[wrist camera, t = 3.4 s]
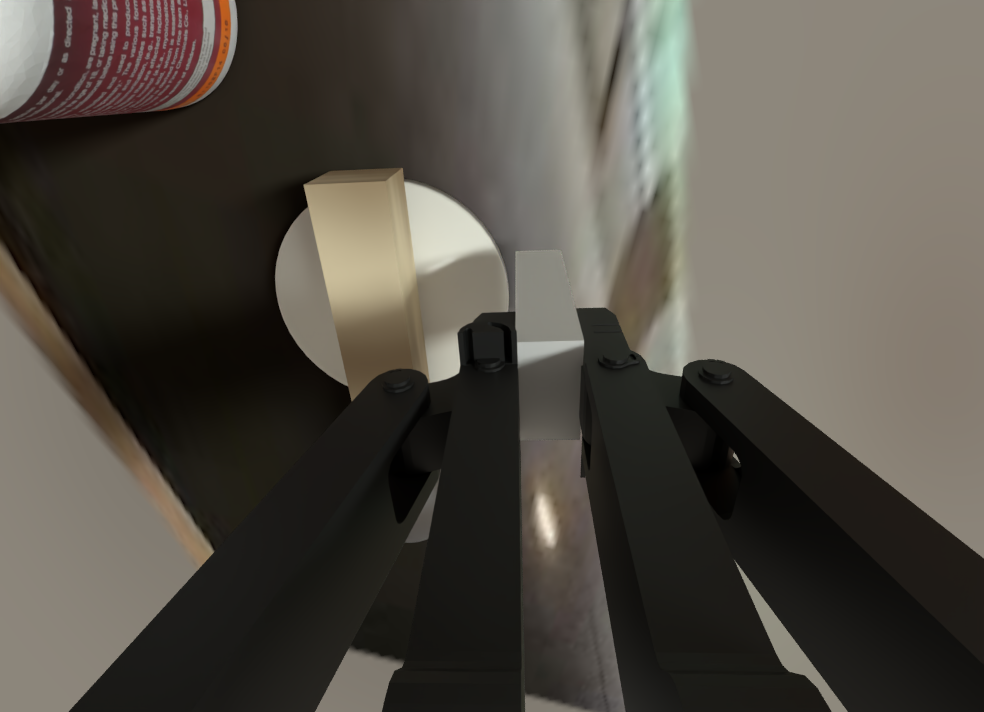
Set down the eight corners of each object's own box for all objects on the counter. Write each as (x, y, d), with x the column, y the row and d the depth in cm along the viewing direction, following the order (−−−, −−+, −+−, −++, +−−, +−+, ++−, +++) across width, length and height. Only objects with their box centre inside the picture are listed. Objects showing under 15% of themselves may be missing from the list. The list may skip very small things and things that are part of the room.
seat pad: (258, 182, 18) (246, 187, 18) (504, 171, 18) (504, 175, 17) (313, 389, 23) (305, 401, 22) (512, 385, 22) (512, 397, 21)
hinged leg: (456, 478, 25) (446, 542, 21) (391, 478, 25) (371, 542, 21) (421, 161, 18) (398, 181, 14) (331, 165, 18) (287, 187, 14)
